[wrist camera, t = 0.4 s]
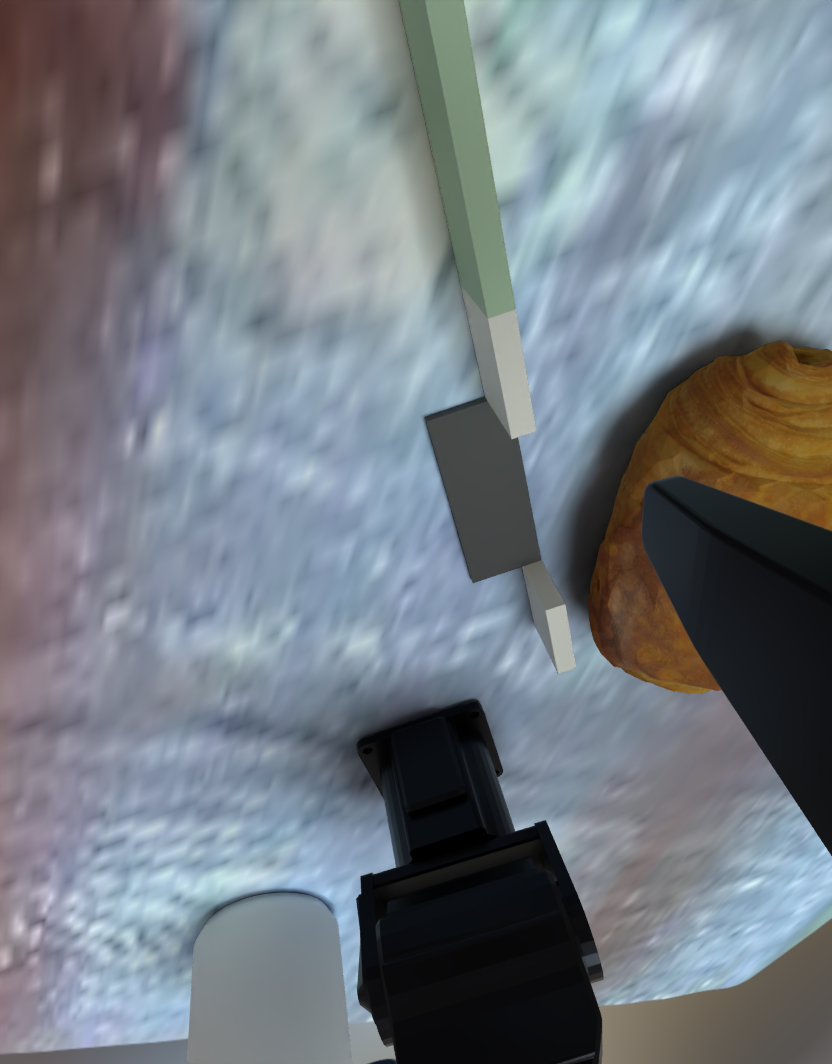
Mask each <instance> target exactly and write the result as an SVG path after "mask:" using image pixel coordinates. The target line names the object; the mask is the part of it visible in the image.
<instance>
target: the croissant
mask: <svg viewBox="0 0 832 1064" xmlns="http://www.w3.org/2000/svg"><path fill="white" fill-rule="evenodd" d="M672 476H682V477H685V478H688V479H691V480H694V481H696V482H699V483H702V484H705V485H707V486H710V487H713V488H716V489H718V490H721V491H724V492H727V493H729V494H732V495H735V496H737V497H740V498H743V499H746V500H748V501H751V502H754V503H757V504H759V505H762V506H765V507H768V508H770V509H773V510H776V511H779V512H781V513H784V514H787V515H790V516H792V517H795V518H798V519H800V520H803V521H806V522H809V523H811V524H814V525H817V526H820V527H822V528H825V529H828V530H831V531H832V351H830V350H828V349H824V350H818V349H814V348H809V347H800V348H793V347H792V346H791V345H789V344H788V343H786V342H785V341H782V340H780V341H776V342H773V343H769V344H766V345H764V346H762V347H760V348H758V349H756V350H754V351H752V352H751V353H749V354H745V355H739V356H721V357H717V358H715V360H714V362H712V363H710V364H708V365H706V366H704V367H702V368H700V369H698V370H696V371H695V372H694V373H693V374H692V375H691V376H690V377H689V378H688V379H686V380H684V381H683V382H682V383H680V384H679V385H678V386H676V387H675V388H673V389H672V390H671V391H669V392H668V394H667V395H666V397H665V399H664V401H663V403H662V405H661V407H660V408H659V410H658V412H657V414H656V415H655V417H654V419H653V421H652V422H651V423H650V425H649V426H648V428H647V429H646V430H645V432H644V433H643V435H642V436H641V438H640V439H639V440H638V442H637V443H636V446H635V448H634V451H633V454H632V458H631V461H630V464H629V466H628V468H627V469H626V471H625V473H624V475H623V477H622V480H621V483H620V487H619V490H618V493H617V497H616V500H615V504H614V507H613V512H612V516H611V519H610V521H609V524H608V527H607V530H606V535H605V540H604V541H603V542H602V543H601V545H600V546H599V551H598V557H597V563H596V566H595V569H594V572H593V575H592V578H591V585H590V594H589V599H588V608H589V620H590V628H591V632H592V635H593V639H594V642H595V643H596V645H597V647H598V649H599V651H600V653H601V654H602V655H603V656H604V657H605V658H606V659H607V660H608V661H609V662H610V663H611V664H612V665H613V666H614V667H619V668H622V669H623V670H624V671H625V672H626V673H628V674H630V675H632V676H634V677H636V678H638V679H640V680H643V681H645V682H650V683H653V684H655V685H657V686H660V687H663V688H665V689H667V690H672V691H673V692H674V691H678V692H684V693H699V694H702V693H705V692H707V691H710V690H711V689H712V690H717V691H719V690H722V689H721V688H720V686H719V685H718V683H717V682H716V680H715V679H714V677H713V675H712V674H711V672H710V671H709V669H708V668H707V666H706V665H705V663H704V662H703V660H702V659H701V657H700V655H699V654H698V652H697V651H696V649H695V647H694V646H693V644H692V642H691V640H690V638H689V636H688V635H687V633H686V631H685V629H684V627H683V625H682V623H681V621H680V619H679V617H678V615H677V613H676V611H675V609H674V607H673V605H672V603H671V601H670V599H669V597H668V595H667V593H666V591H665V589H664V587H663V585H662V583H661V581H660V579H659V577H658V575H657V573H656V571H655V569H654V567H653V565H652V563H651V561H650V559H649V557H648V555H647V553H646V551H645V549H644V546H643V542H642V535H641V533H642V516H643V502H644V492H645V488H646V486H647V485H648V484H649V483H650V482H652V481H656V480H660V479H664V478H668V477H672Z"/></svg>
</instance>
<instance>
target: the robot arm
mask: <svg viewBox="0 0 832 1064" xmlns="http://www.w3.org/2000/svg"><path fill="white" fill-rule="evenodd" d="M641 535H642V542H643V546H644V549H645V551H646V553H647V555H648V557H649V559H650V561H651V563H652V565H653V567H654V569H655V571H656V573H657V575H658V577H659V579H660V581H661V583H662V585H663V587H664V589H665V591H666V593H667V595H668V597H669V599H670V601H671V603H672V605H673V607H674V609H675V611H676V613H677V615H678V617H679V619H680V621H681V623H682V625H683V627H684V629H685V631H686V633H687V635H688V636H689V638H690V640H691V642H692V644H693V646H694V647H695V649H696V651H697V652H698V654H699V655H700V657H701V659H702V660H703V662H704V663H705V665H706V666H707V668H708V669H709V671H710V672H711V674H712V675H713V677H714V679H715V680H716V682H717V683H718V685H719V686H720V688H721V689H722V691H723V692H724V694H725V695H726V697H727V698H728V700H729V701H730V703H731V704H732V706H733V707H734V709H735V710H736V712H737V713H738V715H739V716H740V718H741V719H742V721H743V722H744V724H745V725H746V727H747V728H748V730H749V732H750V733H751V735H752V736H753V738H754V739H755V741H756V742H757V744H758V745H759V747H760V748H761V750H762V751H763V753H764V754H765V756H766V757H767V759H768V760H769V762H770V763H771V765H772V766H773V768H774V769H775V771H776V772H777V774H778V775H779V777H780V778H781V780H782V781H783V783H784V785H785V786H786V788H787V789H788V791H789V792H790V794H791V795H792V797H793V798H794V800H795V801H796V803H797V804H798V806H799V807H800V809H801V810H802V812H803V813H804V815H805V816H806V818H807V819H808V821H809V822H810V824H811V825H812V827H813V828H814V830H815V831H816V833H817V834H818V836H819V838H820V839H821V841H822V842H823V844H824V845H825V847H826V848H827V850H828V851H829V853H830V854H831V856H832V531H831V530H828V529H825V528H822V527H820V526H817V525H814V524H811V523H809V522H806V521H803V520H800V519H798V518H795V517H792V516H790V515H787V514H784V513H781V512H779V511H776V510H773V509H770V508H768V507H765V506H762V505H759V504H757V503H754V502H751V501H748V500H746V499H743V498H740V497H737V496H735V495H732V494H729V493H727V492H724V491H721V490H718V489H716V488H713V487H710V486H707V485H705V484H702V483H699V482H696V481H694V480H691V479H688V478H685V477H682V476H672V477H668V478H664V479H660V480H656V481H652V482H650V483H649V484H648V485H647V486H646V488H645V492H644V502H643V516H642V533H641ZM357 750H358V755H359V756H360V758H361V760H362V762H363V763H364V765H365V767H366V769H367V770H368V772H369V774H370V776H371V777H372V779H373V781H374V783H375V784H376V786H377V788H378V790H379V791H380V793H381V795H382V797H383V798H384V801H385V807H386V813H387V818H388V824H389V830H390V835H391V841H392V847H393V852H394V858H395V864H396V868H393V869H390V870H387V871H383V872H380V873H377V874H374V875H373V873H369V874H366V875H363V876H361V894H360V895H359V896H358V897H357V898H356V901H357V909H358V917H359V926H360V956H359V970H358V985H357V994H358V1000H359V1003H360V1005H361V1006H362V1007H364V1008H365V1009H366V1010H367V1011H369V1012H370V1013H371V1014H372V1017H373V1020H374V1022H375V1024H376V1026H377V1029H378V1032H379V1035H380V1037H381V1040H382V1042H383V1044H384V1045H385V1046H387V1047H388V1046H391V1045H394V1051H395V1056H396V1062H397V1064H601V1062H602V1017H601V1013H600V1010H599V1007H598V1004H597V1001H596V998H595V995H594V992H593V989H592V986H591V983H594V982H597V981H600V980H603V971H602V966H601V962H600V959H599V955H598V952H597V948H596V945H595V942H594V939H593V936H592V933H591V930H590V927H589V924H588V921H587V918H586V915H585V913H584V910H583V907H582V905H581V902H580V900H579V897H578V895H577V892H576V890H575V887H574V885H573V883H572V880H571V878H570V876H569V873H568V871H567V869H566V866H565V864H564V862H563V859H562V857H561V855H560V852H559V850H558V848H557V845H556V843H555V841H554V838H553V836H552V834H551V831H550V829H549V827H548V824H547V822H546V820H544V821H541V822H538V823H534V825H535V826H532V827H529V828H525V829H522V830H519V831H515V829H514V826H513V823H512V820H511V817H510V814H509V811H508V808H507V805H506V802H505V799H504V796H503V793H502V790H501V787H500V784H499V781H498V778H497V777H499V776H500V775H502V773H503V768H502V765H501V762H500V759H499V756H498V753H497V750H496V747H495V744H494V741H493V738H492V735H491V732H490V729H489V726H488V723H487V720H486V717H485V714H484V711H483V708H482V705H481V704H480V703H478V702H471V703H468V704H465V705H462V706H459V707H456V708H453V709H450V710H447V711H444V712H441V713H438V714H435V715H432V716H429V717H426V718H423V719H420V720H417V721H414V722H411V723H408V724H405V725H402V726H399V727H396V728H393V729H390V730H387V731H384V732H381V733H378V734H375V735H373V736H370V737H367V738H364V739H362V740H360V741H359V742H358V743H357Z"/></svg>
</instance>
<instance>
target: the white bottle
mask: <svg viewBox="0 0 832 1064" xmlns="http://www.w3.org/2000/svg"><path fill="white" fill-rule="evenodd" d="M350 1047H351V1046H350V1037H349V1027H348V1017H347V1007H346V997H345V987H344V977H343V967H342V957H341V948H340V938H339V928H338V923H337V920H336V918H335V917H334V916H333V914H332V913H331V912H330V910H329V909H328V908H327V907H326V905H325V904H324V903H323V902H322V901H320V900H319V899H317V898H315V897H312V896H309V895H305V894H300V893H289V892H283V893H269V894H261V895H257V896H253V897H248V898H245V899H242V900H239V901H236V902H234V903H232V904H230V905H228V906H226V907H224V908H222V909H221V910H219V911H217V912H216V913H215V914H214V915H213V916H212V917H210V919H209V920H208V921H207V923H206V924H205V926H204V927H203V929H202V931H201V932H200V934H199V935H198V937H197V939H196V941H195V944H194V949H193V967H192V984H191V1002H190V1019H189V1036H188V1054H187V1064H352V1056H351V1048H350Z"/></svg>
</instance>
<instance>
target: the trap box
mask: <svg viewBox="0 0 832 1064" xmlns="http://www.w3.org/2000/svg"><path fill="white" fill-rule="evenodd" d="M399 3H400V8H401V12H402V17H403V21H404V26H405V31H406V35H407V40H408V44H409V49H410V54H411V58H412V63H413V67H414V72H415V77H416V81H417V86H418V91H419V95H420V100H421V104H422V109H423V114H424V118H425V123H426V127H427V132H428V137H429V141H430V146H431V150H432V155H433V160H434V164H435V169H436V173H437V178H438V183H439V187H440V192H441V196H442V201H443V206H444V210H445V215H446V219H447V224H448V229H449V233H450V238H451V243H452V247H453V252H454V256H455V261H456V266H457V270H458V275H459V279H460V284H461V289H462V293H463V298H464V302H465V307H466V312H467V316H468V321H469V325H470V330H471V335H472V339H473V344H474V348H475V353H476V358H477V362H478V367H479V371H480V376H481V381H482V385H483V390H484V395H485V397H484V398H481V399H478V400H475V401H472V402H469V403H466V404H463V405H460V406H457V407H454V408H451V409H448V410H446V411H443V412H440V413H437V414H434V415H431V416H428V417H425V420H426V423H427V427H428V430H429V434H430V437H431V441H432V444H433V448H434V451H435V455H436V458H437V462H438V465H439V469H440V472H441V476H442V479H443V483H444V486H445V489H446V493H447V496H448V500H449V503H450V507H451V510H452V514H453V517H454V521H455V524H456V528H457V531H458V535H459V538H460V542H461V545H462V548H463V552H464V555H465V559H466V562H467V566H468V569H469V573H470V576H471V579H472V582H473V583H475V582H478V581H481V580H484V579H487V578H490V577H493V576H496V575H499V574H502V573H505V572H508V571H511V570H514V569H517V568H520V567H522V570H523V574H524V579H525V583H526V588H527V593H528V597H529V602H530V606H531V611H532V616H533V620H534V624H535V627H536V629H537V631H538V633H539V635H540V637H541V639H542V641H543V643H544V645H545V648H546V650H547V652H548V654H549V656H550V658H551V660H552V662H553V664H554V666H555V669H556V671H557V673H558V674H559V673H562V672H565V671H568V670H571V669H574V668H576V665H575V659H574V653H573V647H572V641H571V635H570V629H569V623H568V617H567V611H566V605H565V603H564V601H563V599H562V597H561V595H560V594H559V592H558V590H557V588H556V586H555V584H554V583H553V581H552V579H551V577H550V575H549V573H548V572H547V570H546V568H545V566H544V564H543V562H542V561H541V556H540V551H539V545H538V540H537V535H536V530H535V524H534V519H533V514H532V508H531V503H530V498H529V493H528V487H527V482H526V477H525V472H524V466H523V461H522V456H521V451H520V445H519V440H518V437H520V436H523V435H526V434H529V433H532V432H535V431H536V427H535V422H534V416H533V410H532V404H531V398H530V392H529V386H528V380H527V374H526V368H525V362H524V356H523V350H522V344H521V338H520V332H519V327H518V321H517V315H516V309H515V303H514V297H513V291H512V285H511V279H510V273H509V267H508V261H507V255H506V249H505V243H504V238H503V232H502V226H501V220H500V214H499V208H498V202H497V196H496V190H495V184H494V178H493V172H492V166H491V160H490V154H489V149H488V143H487V137H486V131H485V125H484V119H483V113H482V107H481V101H480V95H479V89H478V83H477V77H476V71H475V65H474V60H473V54H472V48H471V42H470V36H469V30H468V24H467V18H466V12H465V6H464V0H399Z"/></svg>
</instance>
